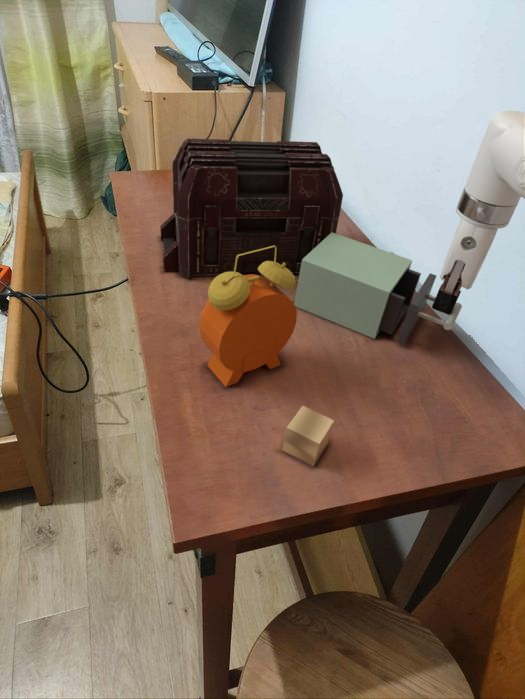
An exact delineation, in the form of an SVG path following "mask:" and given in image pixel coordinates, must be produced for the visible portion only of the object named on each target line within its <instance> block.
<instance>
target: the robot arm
mask: <svg viewBox="0 0 525 699" xmlns="http://www.w3.org/2000/svg"><path fill="white" fill-rule="evenodd" d="M521 198H523V199H524V200H525V111H519V110H503V111H499V112H498V113H496V114H495V115H493V117H492V118H491V119H490V121H489V123H488V126H487V127H486V130H485V133H484V136H483V138H482V141H481V143H480V146H479V148H478V151H477V153H476V156H475V159H474V162H473V164H472V166H471V169H470V171H469V174H468V177H467V179H466V182H465V185H464V187H463V189H462V192H461V194H460V196H459V200H458V202H457V205H456V207H455V212H456V214H457V215H458V217H459V218H460V220H459V221H458V222H459V223H458V225H457V228H456V230H455V233H454V235H453V238H452V241H451V243H450V246H449V249H448V251H447V254H446V257H445V260H444V262H443V266H442V269H441V271H440V275H439V279H440V280H441V281H442V283H441V285H440V287H439V289H438V291H437V293H436V296H435V297H436V298H435V300H434V301H433V303H432V305H431V307H432V310H435V311H438V312H440V313H442V314H446V315H447V316H448V315H450V314H451V312H452V310H453V308H454V306H455V304H456V303H458V302H457V301H458V299H459V297H460V295H461V292H462V290H461V288H464V289H465V290H470V289H472V287H473V285H474V283H475V281H476V279H477V276H478V274H479V273H480V271H481V269H482V266H483V265H484V262H485V260H486V258H487V255H488V253H489V251H490V249H491V247H492V244H493V242H494V240H495V238H496V235H497V233H498V230H499V229H503V228H506V227H507V226H508V225H509V223H510V221H511V219H512V217H513V215H514V213H515V211H516V209H517V206H518V204H519V203H520V200H521Z"/></svg>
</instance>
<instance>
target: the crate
mask: <svg viewBox="0 0 525 699" xmlns="http://www.w3.org/2000/svg"><path fill="white" fill-rule="evenodd" d="M171 165H172V195H173V196H172V200H173V201H172V203H173V204H172V206H173V213H172V214H171V215H170V216H169V217H168V218H167V219H166V220H164V222H163V223H161V225H160V227H159V228H160V241H161V242H162V245H163V253H162V263H163V264H162V267H163V268H162V269H163V272H178V275H180V276H182V277H184V278H187V279H191V278H192V277H194V276H196V277H197V276H218V275H220V274H222V273H225V272H234V268H235V261H236V256H237V255H239V254H243V253H247V252H250V251H254V250H258V249H262V248H266V247H270V246H276V247H277V252H276V263H279V264H281V265H282V264H283V262H284V263H286V266H285V267H286V268H287V269H288V270H290V271H291V272H292V274H300V269H301V264H302V259H303V258H304V257H306V256H307V255H308V254H309V253H310V252H311V251H312V250H313V249H314V248H315V247H316V246H317V245H319V244H320V243H321V242H322V241H323V240H324V239H325V238H326V237H327V236H328V235H329V234H330V233H332V232H333V233H335V234H337V229H338V225H339V220H340V216H341V215H340V214H341V209H342V204H343V197H344V194H343V190H342V187H341V184H340V182H339V179H338V176H337V173H336V171H335V167H334V165H333V163H332V159H331V157H330V156H329V155H328V154H327V153H323V151H322V148H321V145H320V144H319V143H318V142H317V141H294V140H293V141H292V140H291V141H289V140H288V141H286V140H277V141H245V140H243V141H242V140H229V139H218V138H216V139H215V138H185V139H184V140H183V141H182V143H181V145H180V146H179V148H178V150H177V153H176V154H175V156H174V158H173V160H172V164H171ZM274 258H275V247H272V248H268V249H265V250H261V251H257V252H253V253H249V254H245V255H241V256H239V257H238V259H237V266H236V272H238V273H240V274H242V273H260V272H259V270H258V267H259V266H260V265H261V264H262V263H263V262H266V261H273V262H274Z"/></svg>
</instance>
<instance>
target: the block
mask: <svg viewBox="0 0 525 699" xmlns="http://www.w3.org/2000/svg"><path fill="white" fill-rule="evenodd" d="M334 423H335V420H334V419H333V418H332V419H331V418H330V417H328V416H325V415H324V414H322V413H319V412H318V411H315V410H313V409H312V408H309V407H307V406H305V405H301V407H300V409H299V410H298V411H297V413H296V414H295V415H294V417H293V418H292V420H290V422H289V424H288V425H287V426H286V429H285V434H284V439H283V444H282V449H281V451H282V452H284V453H286V454H287V455H290V456H292V457H294V458H296V459H297V460H300V461H302V462H304V463H305V464H308V465H309V466H310V467H315V465H316V463H317V462H318V460H319V458H320V457H321V455H322V454H323V452H324V450H325V449H326V447H327V446H328V444H329V441H330V437H331V434H332V430H333V428H334Z"/></svg>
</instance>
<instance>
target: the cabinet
mask: <svg viewBox="0 0 525 699" xmlns="http://www.w3.org/2000/svg"><path fill="white" fill-rule="evenodd" d="M412 263H413V260H412V259H410V258H406V257H404V256H401V255H398V254H396V253H393V252H391V251H390V252H389V251H386V250H384V249H381V248H378V247H375V246H373V245H370V244H366V243H364V242H361V241H358V240H356V239H352V238H350V237H346V236H344V235H341V234H339V233H336V234H335V233H333V232H332V233H330V234H329V235H328V236H327V237H326V238H325V239H324V240H323V241H322V242H321V243H320V244H319V245H317V246H316V247H315V248H314V249H313V250H312V251H311V252H310V253H309V254H308V255H307V256H306V257H304V258H303V259H302V264H301V269H300V273H298V274H299V275H298V280H297V286H296V292H295V297H294V305H295V308H298V309H301V310H303V311H305V312H308V313H310V314H312V315H315V316H318V317H320V318H323V319H325V320H327V321H330V322H332V323H335V324H338V325H339V326H342V327H345V328H347V329H349V330H352V331H354V332H357V333H359V334H362V335H364V336H367V337H369V338H371V339H376V338H377V336H378V335H379V333H380V332H381V330H379V327H380V323H381V320H382V317H383V314H384V311H385V308H386V305H387V302H388V299H389V295H390V293H391V292H392V291H393V289H394V288H395V286H396V285H397V283H398V282H399V281H400V279H401V278H402V276H403V275H404V274H405V272H406V271H407V269H410V270H411V266H412Z"/></svg>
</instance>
